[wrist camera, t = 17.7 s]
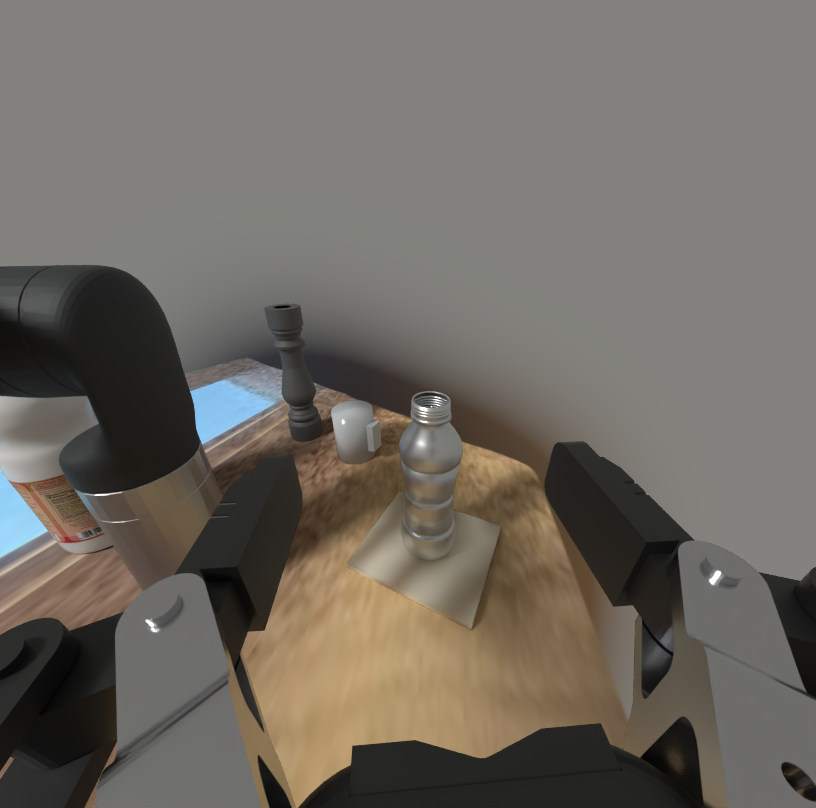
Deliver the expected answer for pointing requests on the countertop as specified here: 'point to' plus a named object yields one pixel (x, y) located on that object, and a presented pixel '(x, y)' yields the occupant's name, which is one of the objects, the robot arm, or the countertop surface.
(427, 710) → the countertop surface
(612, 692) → the countertop surface
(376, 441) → the grey mug
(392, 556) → the plain beige board
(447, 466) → the plastic bottle
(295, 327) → the candle holder
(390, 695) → the countertop surface
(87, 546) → the fruit juice
